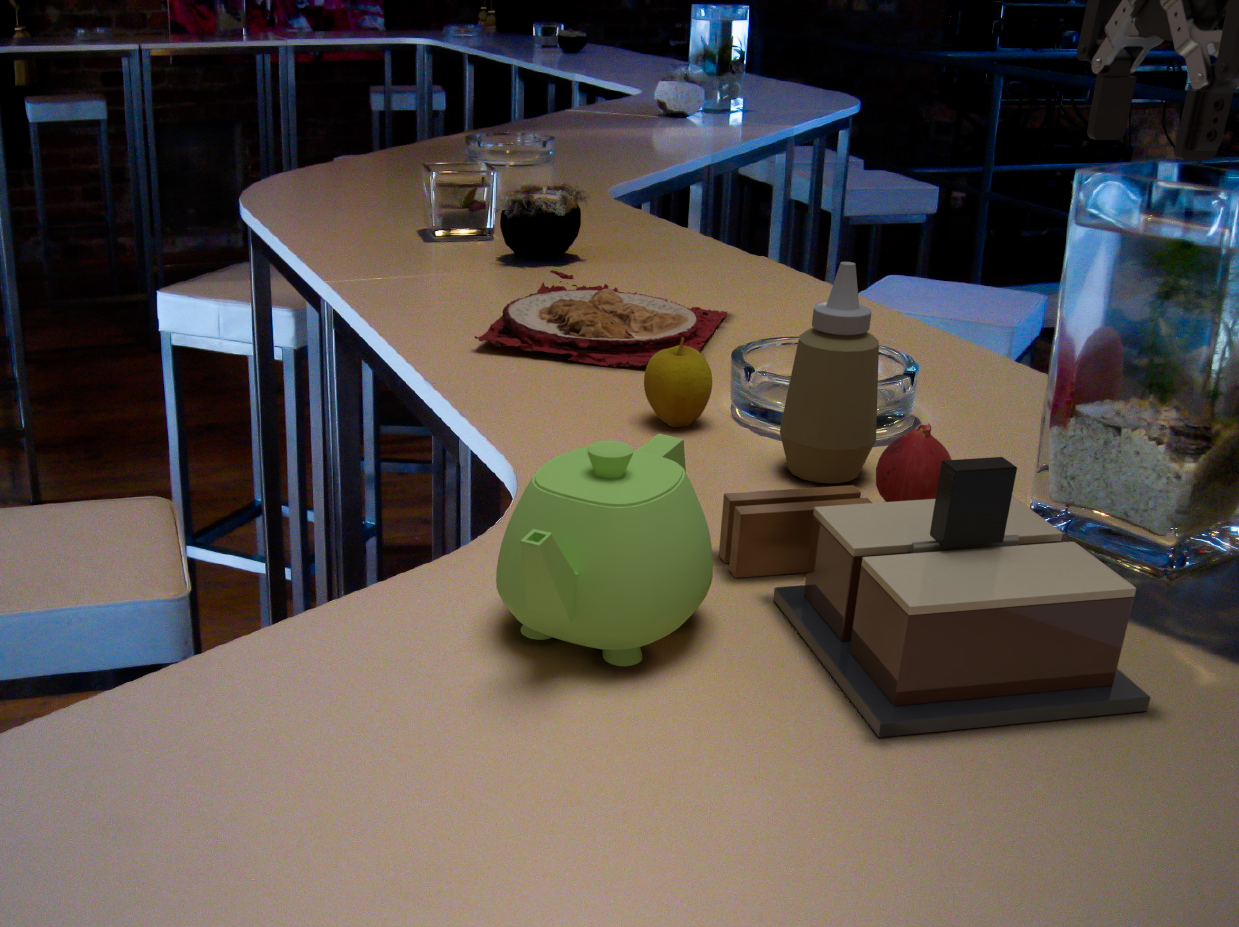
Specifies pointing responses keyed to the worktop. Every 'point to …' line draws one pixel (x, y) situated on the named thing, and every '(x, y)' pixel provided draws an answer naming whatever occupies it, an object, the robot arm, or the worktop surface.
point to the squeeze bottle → (833, 389)
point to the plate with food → (600, 324)
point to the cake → (961, 622)
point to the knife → (971, 506)
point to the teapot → (607, 548)
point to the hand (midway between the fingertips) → (1146, 148)
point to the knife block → (774, 527)
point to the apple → (678, 384)
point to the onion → (911, 466)
